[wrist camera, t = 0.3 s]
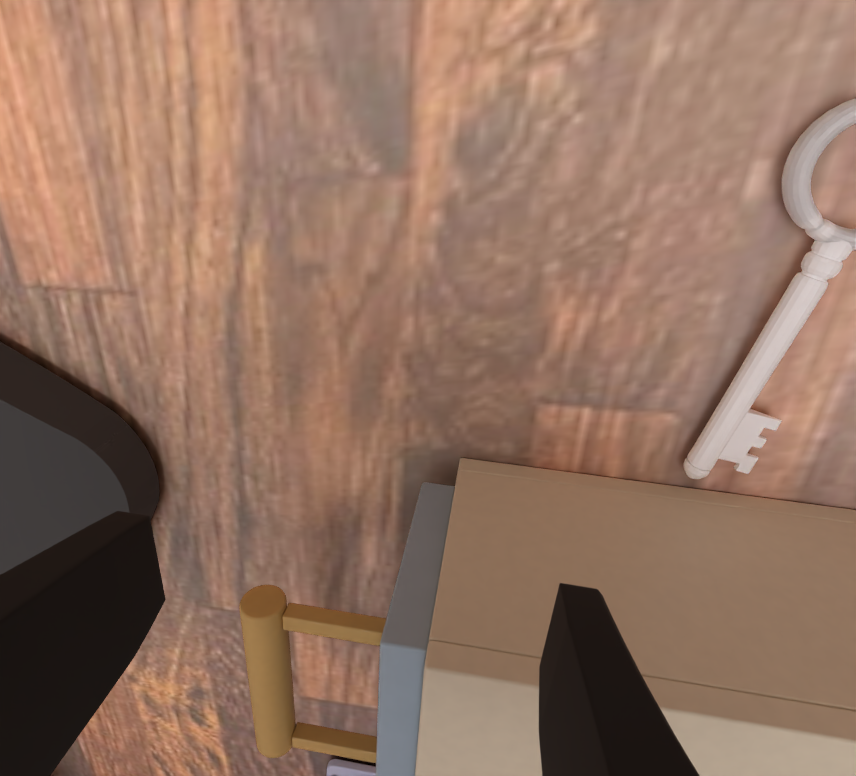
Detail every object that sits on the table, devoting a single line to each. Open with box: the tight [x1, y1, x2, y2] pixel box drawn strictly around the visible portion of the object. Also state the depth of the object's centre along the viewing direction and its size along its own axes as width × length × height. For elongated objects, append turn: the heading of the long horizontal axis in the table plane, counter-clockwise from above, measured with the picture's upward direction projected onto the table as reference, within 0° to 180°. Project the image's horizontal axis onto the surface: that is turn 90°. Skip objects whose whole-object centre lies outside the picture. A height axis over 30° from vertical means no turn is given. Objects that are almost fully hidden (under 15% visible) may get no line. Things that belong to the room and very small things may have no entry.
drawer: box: [239, 482, 455, 776], centre depth 19 cm, size 17×11×7 cm, turn 86°
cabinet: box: [415, 458, 856, 776], centre depth 18 cm, size 14×13×9 cm
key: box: [684, 98, 856, 479], centre depth 16 cm, size 12×1×4 cm
